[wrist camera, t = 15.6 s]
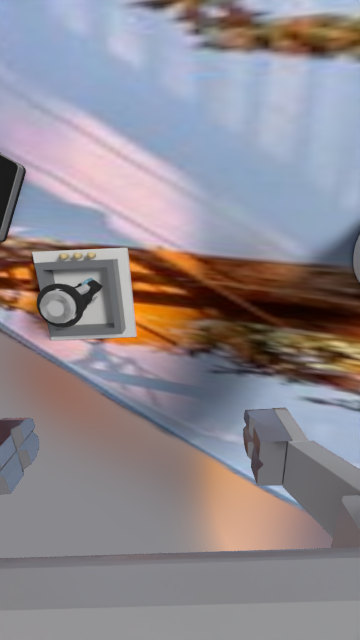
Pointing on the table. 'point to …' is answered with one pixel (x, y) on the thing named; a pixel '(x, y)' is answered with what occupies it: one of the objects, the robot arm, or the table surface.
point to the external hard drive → (9, 191)
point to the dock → (113, 299)
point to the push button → (66, 302)
